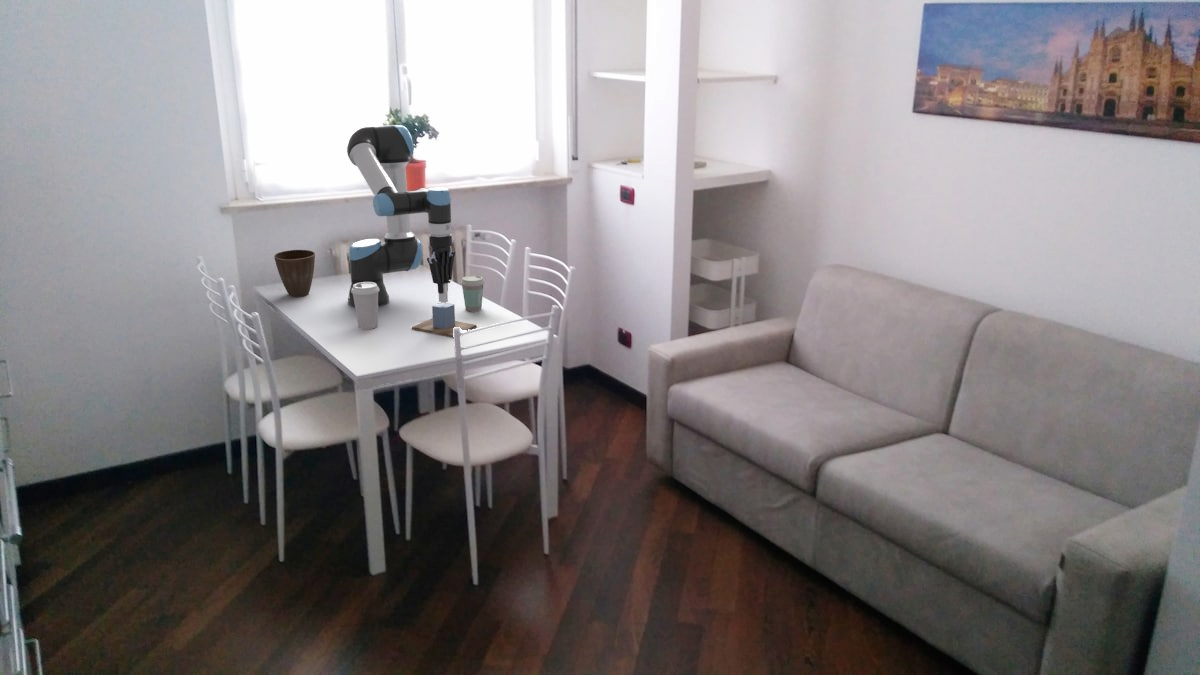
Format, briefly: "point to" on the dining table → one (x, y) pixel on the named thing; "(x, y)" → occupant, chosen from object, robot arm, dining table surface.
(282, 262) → the plant pot
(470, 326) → the post board
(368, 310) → the coffee cup
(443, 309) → the slate blue box
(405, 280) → the dining table surface
